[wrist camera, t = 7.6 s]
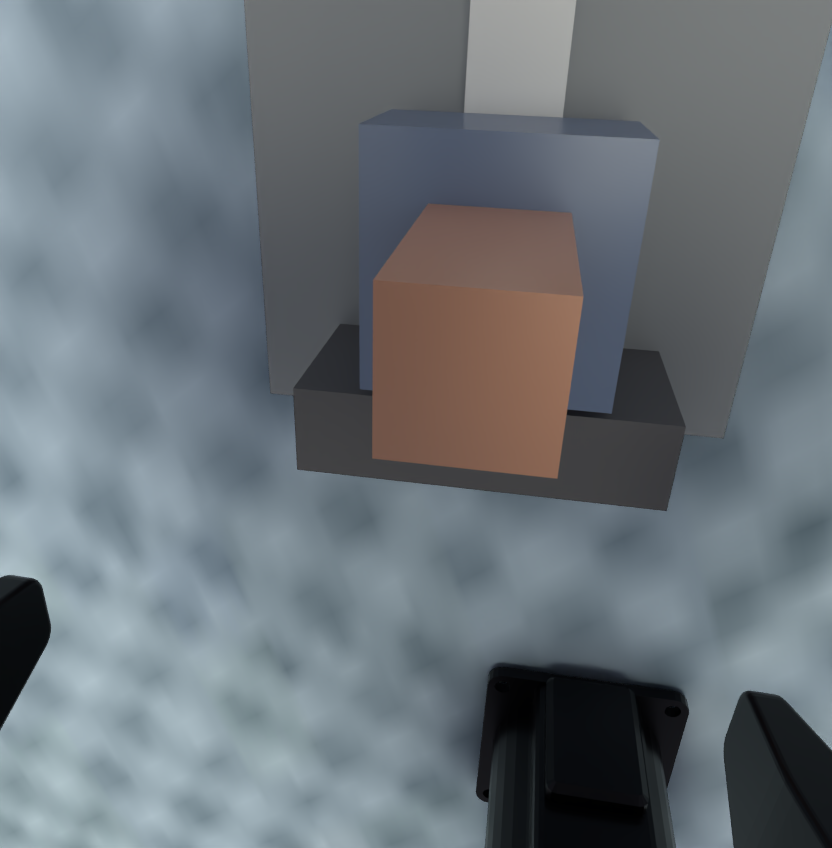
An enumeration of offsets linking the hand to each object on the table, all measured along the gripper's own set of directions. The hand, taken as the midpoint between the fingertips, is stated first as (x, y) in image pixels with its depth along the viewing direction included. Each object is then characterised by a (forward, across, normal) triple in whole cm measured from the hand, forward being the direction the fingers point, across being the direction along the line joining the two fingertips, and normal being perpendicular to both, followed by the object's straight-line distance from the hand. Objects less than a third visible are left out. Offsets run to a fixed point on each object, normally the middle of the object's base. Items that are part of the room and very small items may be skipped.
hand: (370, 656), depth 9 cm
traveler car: (+9, -1, -3) cm, 10 cm away
